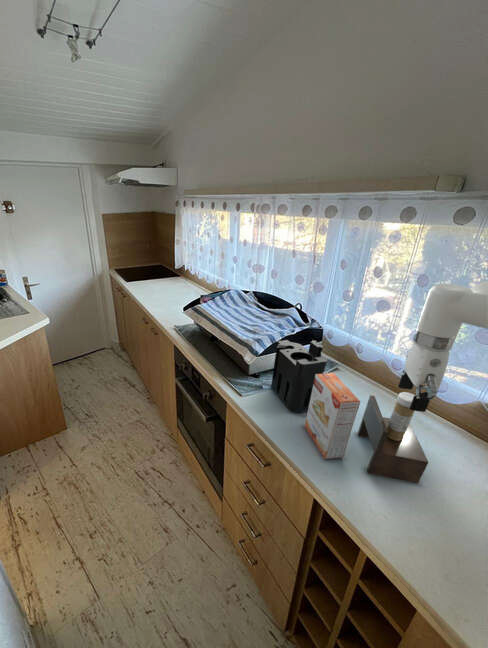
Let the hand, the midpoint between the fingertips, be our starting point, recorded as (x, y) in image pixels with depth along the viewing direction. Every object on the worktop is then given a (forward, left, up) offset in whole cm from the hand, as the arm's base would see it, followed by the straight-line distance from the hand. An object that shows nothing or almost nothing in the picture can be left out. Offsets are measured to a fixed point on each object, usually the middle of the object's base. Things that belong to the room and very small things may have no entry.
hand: (410, 398), depth 79 cm
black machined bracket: (+26, -23, -21) cm, 41 cm away
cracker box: (+17, -1, -21) cm, 27 cm away
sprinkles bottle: (0, 0, -13) cm, 13 cm away
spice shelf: (0, 0, -21) cm, 21 cm away
